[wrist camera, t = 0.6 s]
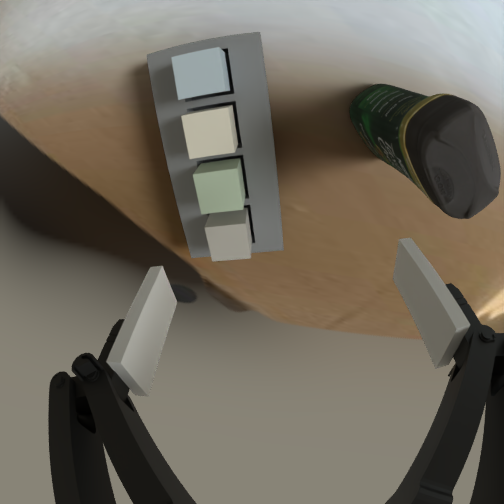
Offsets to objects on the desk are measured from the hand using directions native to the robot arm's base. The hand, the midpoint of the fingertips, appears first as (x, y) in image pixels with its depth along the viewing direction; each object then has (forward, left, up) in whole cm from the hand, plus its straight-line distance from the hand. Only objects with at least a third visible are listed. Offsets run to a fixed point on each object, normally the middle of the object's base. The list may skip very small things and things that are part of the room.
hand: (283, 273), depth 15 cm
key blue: (-12, -5, -18) cm, 22 cm away
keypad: (-3, -5, -22) cm, 23 cm away
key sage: (0, -5, -18) cm, 19 cm away
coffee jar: (-5, +15, -22) cm, 27 cm away
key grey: (+6, -5, -18) cm, 20 cm away
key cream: (-6, -5, -18) cm, 20 cm away
